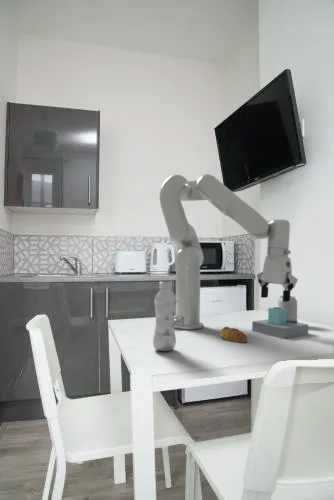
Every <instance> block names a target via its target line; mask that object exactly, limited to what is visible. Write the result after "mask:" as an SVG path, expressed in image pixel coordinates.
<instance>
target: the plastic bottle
mask: <svg viewBox="0 0 334 500" xmlns="http://www.w3.org/2000/svg"><path fill="white" fill-rule="evenodd" d="M158 283H159V285H158V288H159V290H158V292H157V293H156V294H155V297H154V301H153V302H154V309H155V310H154V311H155V326H154V334H153V339H152V344H153V348H154V349H155V350H156V351H160V352H170V351H173V350H174V349H175V347H176V344H177V339H176V334H175V327H174V318H175V314H176V303H177V299H176V293H174V292H173V281H167V280H165V281H164V280H163V281H159V282H158Z"/></svg>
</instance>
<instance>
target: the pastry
mask: <svg viewBox="0 0 334 500" xmlns="http://www.w3.org/2000/svg"><path fill="white" fill-rule="evenodd" d="M219 337H220V338H221V339H222V340H223V339H224V341H228V342H233V343H244V342H246V341H247V340H248V336H247V335H246V334H245V333H244V332H243V331H241V330H239V329H237V328H234V327H229V326H224V327H222V329H221V330H220V332H219Z"/></svg>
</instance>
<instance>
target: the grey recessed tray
mask: <svg viewBox="0 0 334 500" xmlns="http://www.w3.org/2000/svg"><path fill="white" fill-rule="evenodd" d="M251 324H252V328H251V330H252V332H257V333H259V334H264V335H267V336H271V337H276V338H279V339H284V340H286V339H290V338H291V339H292V338H296V337H301V336H305V335H306V336H307V335H309V324H306V323H303V322H298V319H297V320H292V319H286V325H280V326H278V325H274V324H269V323H268V319H260V320H253V321H252V323H251Z"/></svg>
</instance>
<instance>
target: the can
mask: <svg viewBox="0 0 334 500" xmlns="http://www.w3.org/2000/svg"><path fill="white" fill-rule="evenodd" d="M278 297H279V298H278V299H277V307H278V308H284V309H286V319H292V320H297V321H298V300H297V299H296V296H293V295H290V301H287V302H284V301H283V295H279V296H278Z"/></svg>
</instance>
